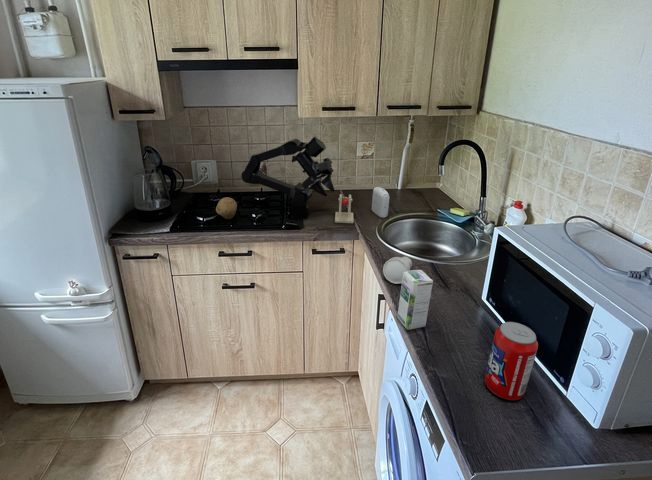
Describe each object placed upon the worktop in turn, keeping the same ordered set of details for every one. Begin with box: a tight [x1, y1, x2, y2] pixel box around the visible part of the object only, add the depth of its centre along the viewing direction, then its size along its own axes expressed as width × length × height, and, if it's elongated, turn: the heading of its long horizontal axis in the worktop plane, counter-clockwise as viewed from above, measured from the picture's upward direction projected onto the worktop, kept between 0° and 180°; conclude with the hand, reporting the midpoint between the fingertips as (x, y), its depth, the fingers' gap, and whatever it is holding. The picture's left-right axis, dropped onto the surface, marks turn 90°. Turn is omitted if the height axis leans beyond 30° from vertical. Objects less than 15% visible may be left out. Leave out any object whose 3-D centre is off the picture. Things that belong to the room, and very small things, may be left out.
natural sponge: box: [215, 196, 238, 220], centre depth 165 cm, size 9×9×10 cm
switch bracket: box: [334, 193, 354, 224], centre depth 167 cm, size 10×8×11 cm
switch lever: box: [342, 196, 349, 206], centre depth 161 cm, size 12×3×3 cm, turn 175°
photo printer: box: [371, 186, 390, 219], centre depth 173 cm, size 10×4×12 cm, turn 17°
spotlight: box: [382, 256, 413, 285], centre depth 123 cm, size 8×11×8 cm
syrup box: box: [396, 269, 434, 331], centre depth 100 cm, size 6×6×14 cm
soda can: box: [484, 321, 539, 401], centre depth 80 cm, size 8×8×15 cm
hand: (330, 193), depth 159 cm, fingers open, 7 cm apart
